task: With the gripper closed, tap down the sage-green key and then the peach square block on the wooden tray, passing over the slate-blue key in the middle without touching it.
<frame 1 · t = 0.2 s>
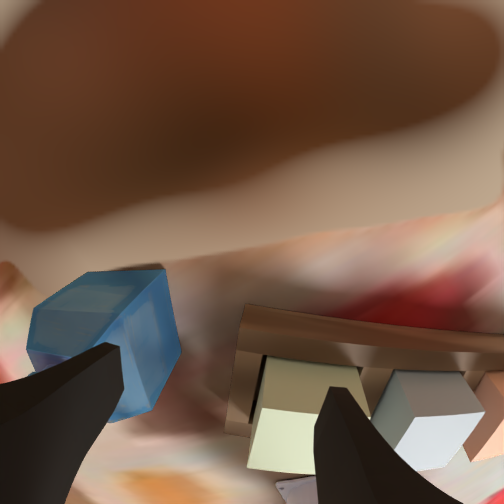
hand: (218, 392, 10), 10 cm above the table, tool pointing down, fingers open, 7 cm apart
sage key: (303, 418, 16), point 5 cm above the table, slide at 0.0 cm
perfume bottle: (134, 311, 21), on the table
slate key: (422, 422, 16), point 5 cm above the table, slide at 0.0 cm
wooden tray: (403, 379, 20), on the table
peach square block: (501, 413, 15), point 5 cm above the table, slide at 0.0 cm
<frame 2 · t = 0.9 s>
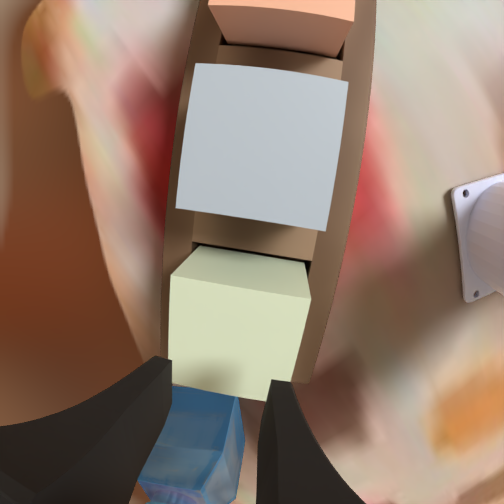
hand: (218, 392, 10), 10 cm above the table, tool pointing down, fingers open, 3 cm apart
sage key: (238, 321, 15), point 5 cm above the table, slide at 0.0 cm
perfume bottle: (204, 413, 23), on the table
slate key: (264, 145, 12), point 5 cm above the table, slide at 0.0 cm
wooden tray: (269, 150, 17), on the table
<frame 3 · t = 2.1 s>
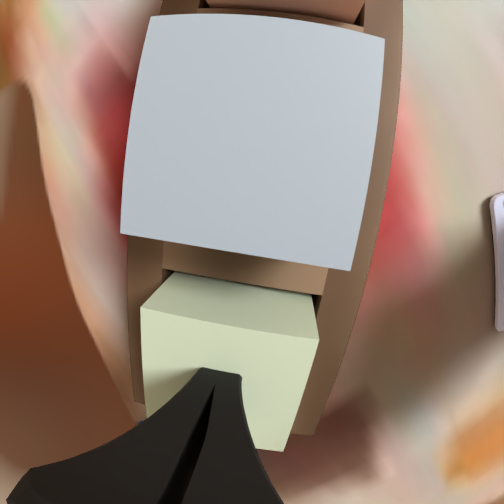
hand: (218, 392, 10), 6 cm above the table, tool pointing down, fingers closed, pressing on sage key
sage key: (229, 356, 12), point 3 cm above the table, slide at 1.3 cm, touching gripper
slate key: (256, 136, 8), point 5 cm above the table, slide at 0.0 cm
wooden tray: (265, 146, 13), on the table
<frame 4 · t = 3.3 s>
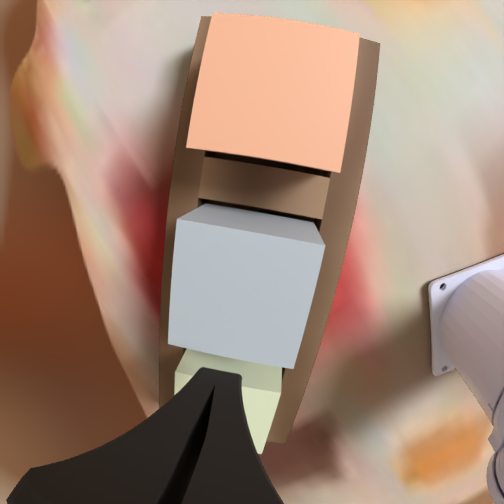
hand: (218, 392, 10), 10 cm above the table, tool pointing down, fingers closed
sage key: (228, 393, 18), point 3 cm above the table, slide at 1.3 cm
slate key: (245, 279, 14), point 5 cm above the table, slide at 0.0 cm
wooden tray: (254, 251, 19), on the table
peach square block: (276, 96, 12), point 5 cm above the table, slide at 0.0 cm
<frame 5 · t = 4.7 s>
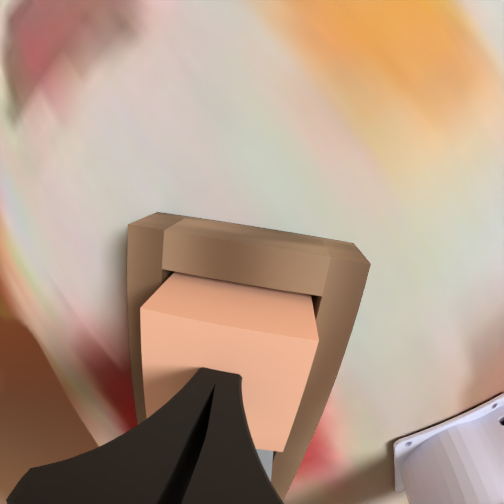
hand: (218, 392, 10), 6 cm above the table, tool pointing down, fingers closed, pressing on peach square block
slate key: (210, 485, 13), point 5 cm above the table, slide at 0.0 cm
wooden tray: (225, 426, 17), on the table
peach square block: (229, 357, 12), point 3 cm above the table, slide at 1.3 cm, touching gripper
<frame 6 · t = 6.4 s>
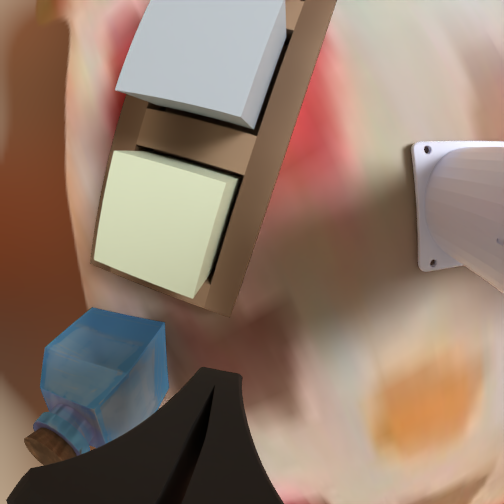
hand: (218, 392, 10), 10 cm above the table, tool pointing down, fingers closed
sage key: (169, 215, 16), point 3 cm above the table, slide at 1.3 cm
perfume bottle: (131, 347, 23), on the table
slate key: (209, 54, 12), point 5 cm above the table, slide at 0.0 cm
wooden tray: (228, 79, 16), on the table
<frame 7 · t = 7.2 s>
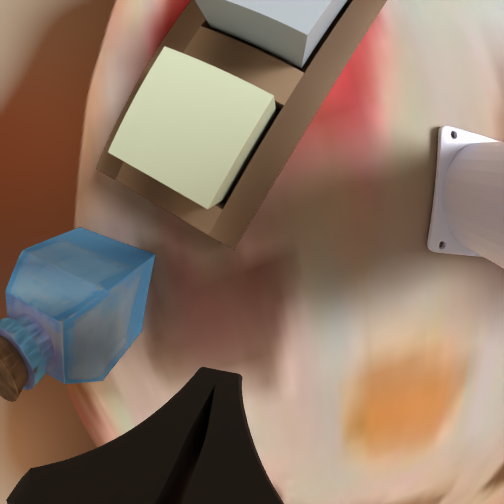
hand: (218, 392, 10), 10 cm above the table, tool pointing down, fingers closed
sage key: (197, 127, 14), point 3 cm above the table, slide at 1.3 cm
perfume bottle: (110, 279, 21), on the table
wooden tray: (280, 26, 15), on the table
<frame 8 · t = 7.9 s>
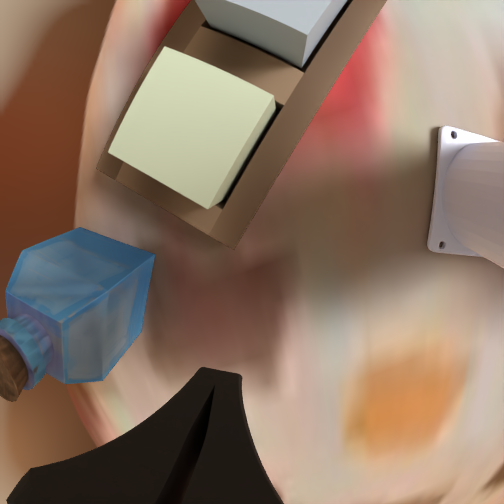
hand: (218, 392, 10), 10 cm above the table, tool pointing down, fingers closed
sage key: (197, 127, 14), point 3 cm above the table, slide at 1.3 cm
perfume bottle: (110, 279, 21), on the table
wooden tray: (280, 26, 15), on the table
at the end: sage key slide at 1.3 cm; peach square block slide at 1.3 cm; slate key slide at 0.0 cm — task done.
